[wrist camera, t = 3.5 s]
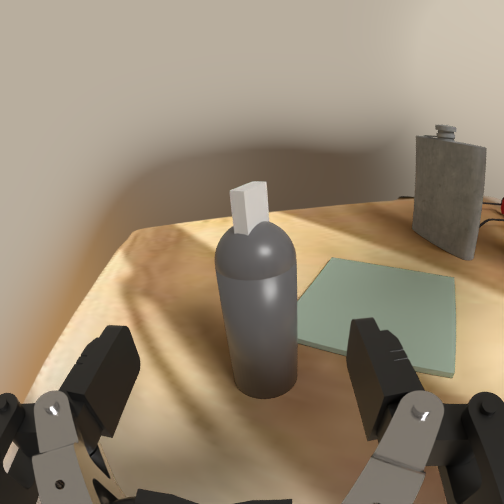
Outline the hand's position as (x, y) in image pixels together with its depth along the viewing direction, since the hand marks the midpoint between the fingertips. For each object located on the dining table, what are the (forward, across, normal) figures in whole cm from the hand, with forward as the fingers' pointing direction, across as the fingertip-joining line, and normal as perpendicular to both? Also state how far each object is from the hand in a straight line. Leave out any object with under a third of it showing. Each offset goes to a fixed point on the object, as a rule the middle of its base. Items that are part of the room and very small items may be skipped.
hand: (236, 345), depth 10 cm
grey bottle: (+10, 0, +12) cm, 16 cm away
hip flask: (+36, -31, +12) cm, 49 cm away
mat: (+19, -14, +12) cm, 26 cm away
